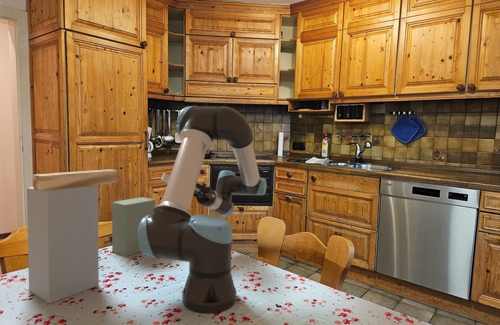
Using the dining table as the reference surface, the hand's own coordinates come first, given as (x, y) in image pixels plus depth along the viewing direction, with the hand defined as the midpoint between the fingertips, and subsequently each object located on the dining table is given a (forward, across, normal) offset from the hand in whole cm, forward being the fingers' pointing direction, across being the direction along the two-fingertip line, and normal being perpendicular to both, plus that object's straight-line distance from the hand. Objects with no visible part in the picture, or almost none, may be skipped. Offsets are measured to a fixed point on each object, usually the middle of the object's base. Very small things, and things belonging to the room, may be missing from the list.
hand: (175, 178), depth 119 cm
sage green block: (-12, +20, -28) cm, 36 cm away
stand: (+17, +8, -43) cm, 47 cm away
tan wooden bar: (+27, +8, -15) cm, 32 cm away
